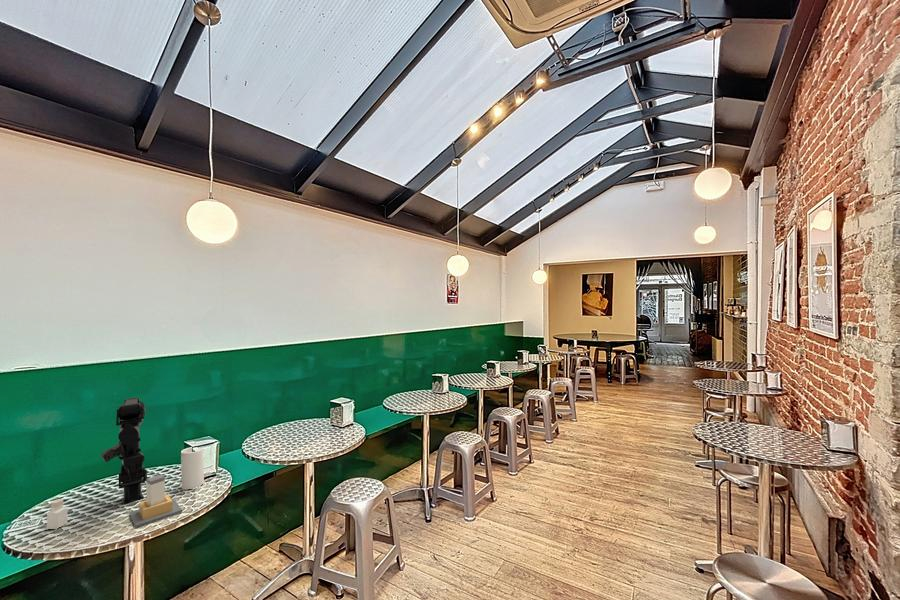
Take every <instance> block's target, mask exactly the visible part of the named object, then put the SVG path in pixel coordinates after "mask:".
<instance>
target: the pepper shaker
mask: <svg viewBox="0 0 900 600" xmlns="http://www.w3.org/2000/svg"><path fill="white" fill-rule="evenodd" d="M66 523H67V524H68V507H66V506H64V499H63V498H58V499H55V500H52V501H50V510H49V511H48V512H47V513H46V529H47V530H48V529H55V530H57V529H56V528H59V527H61V526H63V525H64V524H66ZM67 524H66V525H67ZM64 526H65V525H64ZM64 526H63V527H64ZM61 528H62V527H61ZM59 529H60V528H59Z"/></svg>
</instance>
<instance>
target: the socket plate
mask: <svg viewBox="0 0 900 600" xmlns="http://www.w3.org/2000/svg"><path fill="white" fill-rule="evenodd" d="M181 513H183V508H182V507H181V506H180V505H179V503H178V502H177V501H176V499H175V498H171V497H170V496H169V495H168V493H165V502H164V503H160V504H157V505H154V506H151V507H148V508H147V499H145V500H142V501H140V502H139V503H138V509H135V510H132V511H129V513H128V514H129V517H130V520H131V519H132V520H131V522H132V524H133V525H134V529H138V528H141V527H143V526H147V525H150V524H152V523H155V522H158V521H162V520H164V519H167V518H170V517H173V516H177V515H179V514H181Z"/></svg>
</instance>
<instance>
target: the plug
mask: <svg viewBox="0 0 900 600" xmlns="http://www.w3.org/2000/svg"><path fill="white" fill-rule="evenodd" d="M165 479H166V477H165V476H163V475H161V474H158V475H155V476H151V477H147V479H146V481H145V483H146V485H145V487H146V500H147V508H148V507H151V506H154V505H157V504H160V503H164V502H165V494H166V486H165V483H166V481H165Z"/></svg>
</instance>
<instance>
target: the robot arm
mask: <svg viewBox="0 0 900 600" xmlns="http://www.w3.org/2000/svg"><path fill="white" fill-rule="evenodd" d="M145 416H146V404H145V403H144V402H142V401H141V400H140V397H131V398H126V399H124V402H123V404H122V405H119V408H116V419H115V421H116V423H115V425H116V427H118V426H119V427H120V428H119V433H118V435H117V436H118V444H116V445H114V446H111V447H109V448H107V449H106V450H103V451H102V452H101V453H100V455H101V457H102V459H103V461H104V463H108V462H110V461H111V460H113V459H115V458H116V457H117V458H118V459H119V460H120V461H121V463H122V465H121V467H120V472H118V489H122V488H123V496H122V498H121V502H122V504H128V503H131V502H134V501H135V502H136V501H138V500H141V499H144V498H145V496H144V494H143V492H142V484H143V483H146V479H148V470H146V467H144V464H143V463H145V455H144V453H142V452H141V451H142V449H141V447H140V444H141V443H140V442H141V437H140V426H141V425H142V423H143V422H144V419H145Z"/></svg>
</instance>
